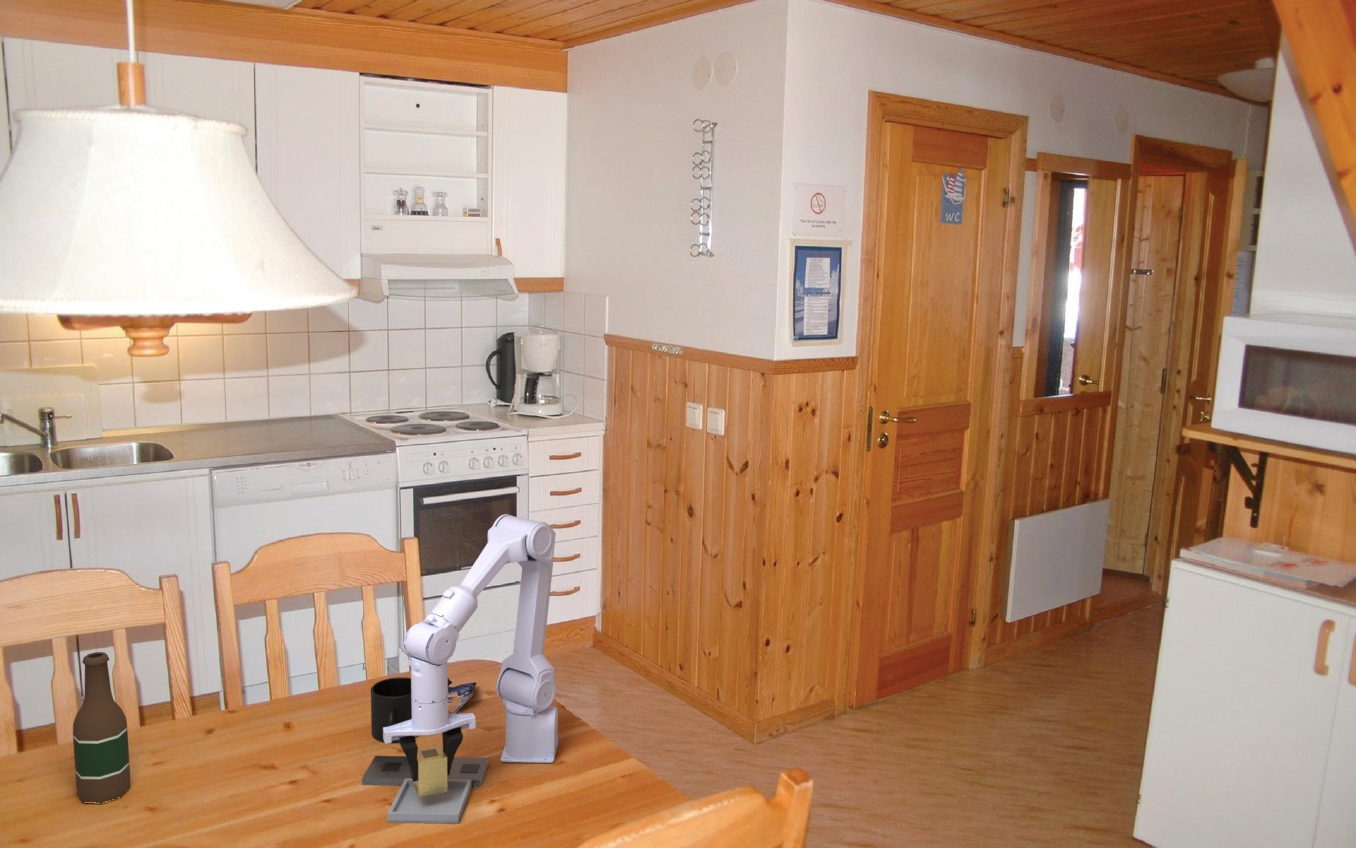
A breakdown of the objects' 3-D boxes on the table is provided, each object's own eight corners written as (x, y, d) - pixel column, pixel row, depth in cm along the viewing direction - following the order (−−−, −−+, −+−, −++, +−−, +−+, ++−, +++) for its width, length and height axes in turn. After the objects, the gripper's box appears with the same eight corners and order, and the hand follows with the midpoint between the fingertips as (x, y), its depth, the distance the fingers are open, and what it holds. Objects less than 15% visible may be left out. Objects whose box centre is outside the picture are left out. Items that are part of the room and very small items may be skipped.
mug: (364, 751, 185) (363, 704, 184) (376, 721, 197) (375, 677, 196) (417, 749, 187) (417, 702, 185) (426, 720, 198) (425, 676, 197)
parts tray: (471, 788, 173) (471, 779, 173) (458, 823, 162) (458, 815, 162) (405, 786, 173) (405, 778, 173) (387, 822, 162) (387, 813, 162)
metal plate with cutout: (488, 764, 182) (488, 757, 182) (480, 787, 174) (480, 780, 174) (375, 762, 182) (375, 755, 181) (362, 784, 174) (362, 777, 173)
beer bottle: (80, 786, 171) (71, 649, 167) (132, 778, 174) (125, 643, 170) (73, 809, 164) (64, 666, 160) (128, 801, 167) (120, 660, 163)
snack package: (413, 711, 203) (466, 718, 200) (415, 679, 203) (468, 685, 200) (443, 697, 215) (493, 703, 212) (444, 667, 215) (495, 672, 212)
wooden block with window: (441, 778, 171) (440, 744, 170) (447, 791, 167) (447, 756, 166) (413, 784, 169) (412, 749, 168) (418, 797, 165) (418, 761, 164)
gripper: (468, 680, 172) (468, 756, 174) (379, 694, 165) (380, 772, 168) (478, 697, 165) (479, 775, 167) (386, 711, 159) (388, 793, 161)
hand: (430, 775), depth 167 cm, fingers closed on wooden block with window, 5 cm apart
